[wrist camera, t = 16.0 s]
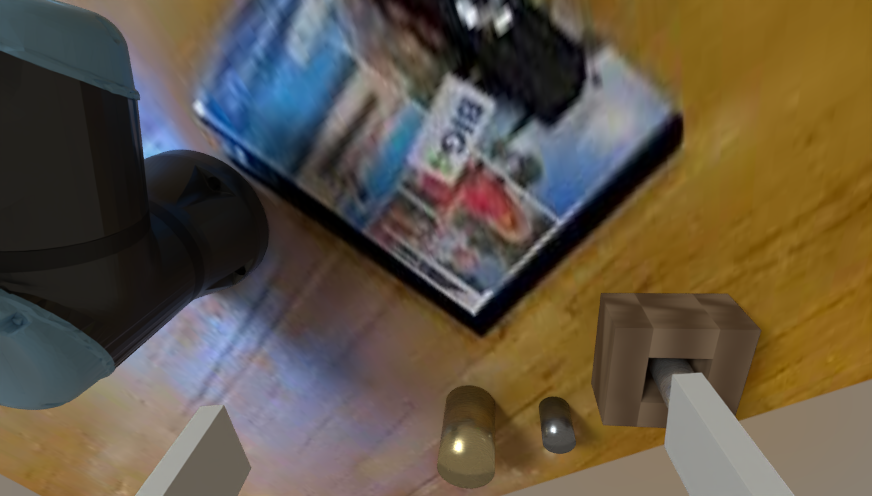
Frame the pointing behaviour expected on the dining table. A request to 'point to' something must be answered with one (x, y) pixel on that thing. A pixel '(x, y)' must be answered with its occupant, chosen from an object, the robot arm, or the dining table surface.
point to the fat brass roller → (468, 438)
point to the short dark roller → (556, 425)
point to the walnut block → (667, 350)
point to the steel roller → (667, 373)
